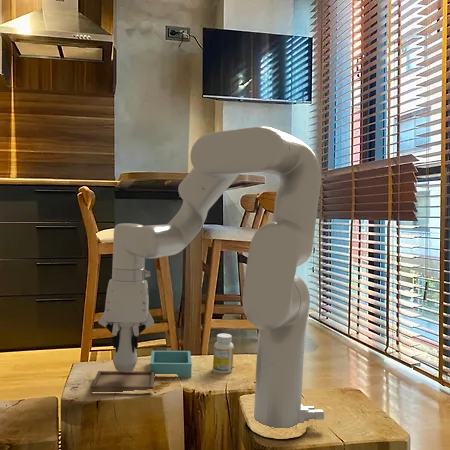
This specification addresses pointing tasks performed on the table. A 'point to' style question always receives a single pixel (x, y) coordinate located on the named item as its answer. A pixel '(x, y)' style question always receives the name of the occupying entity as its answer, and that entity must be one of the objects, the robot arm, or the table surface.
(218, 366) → the supplement bottle
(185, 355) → the collar
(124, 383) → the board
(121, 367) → the salt shaker
